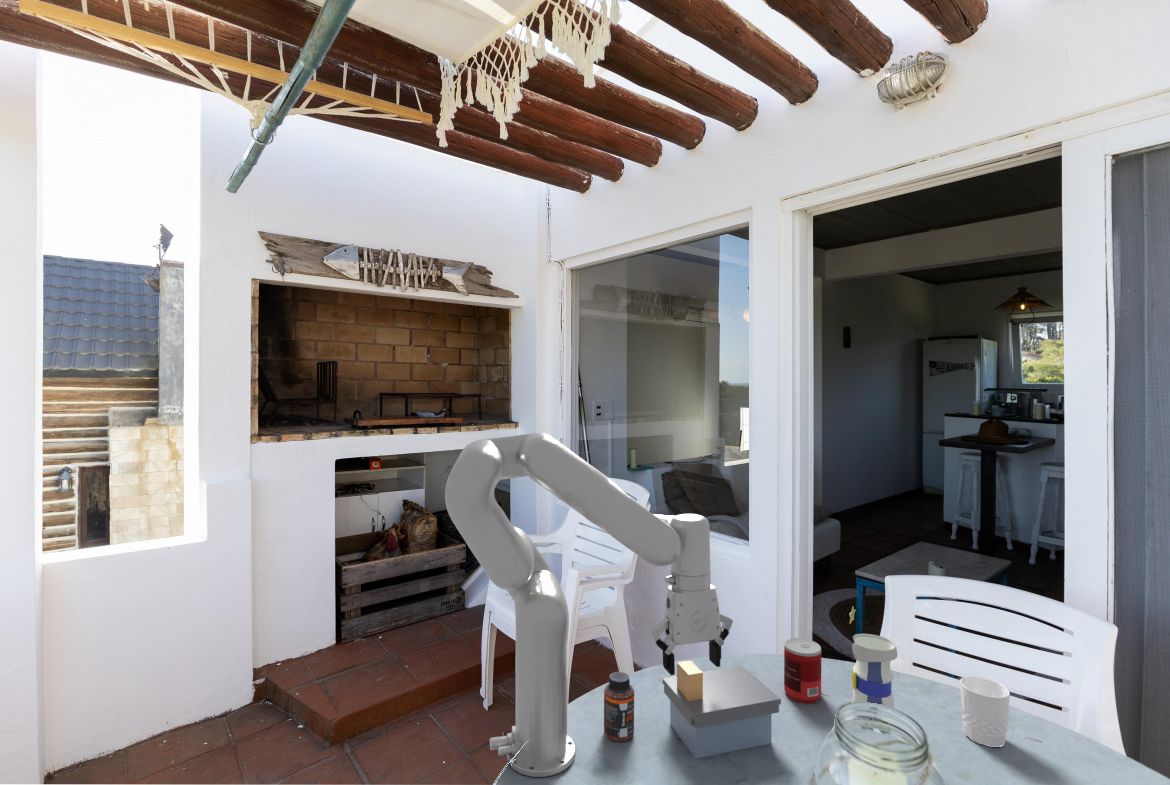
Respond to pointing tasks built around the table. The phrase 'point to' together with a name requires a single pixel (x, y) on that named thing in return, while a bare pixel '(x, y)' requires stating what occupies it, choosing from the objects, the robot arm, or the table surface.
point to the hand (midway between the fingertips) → (692, 667)
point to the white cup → (984, 710)
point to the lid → (718, 694)
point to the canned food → (802, 670)
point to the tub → (721, 734)
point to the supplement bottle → (619, 707)
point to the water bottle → (872, 668)
